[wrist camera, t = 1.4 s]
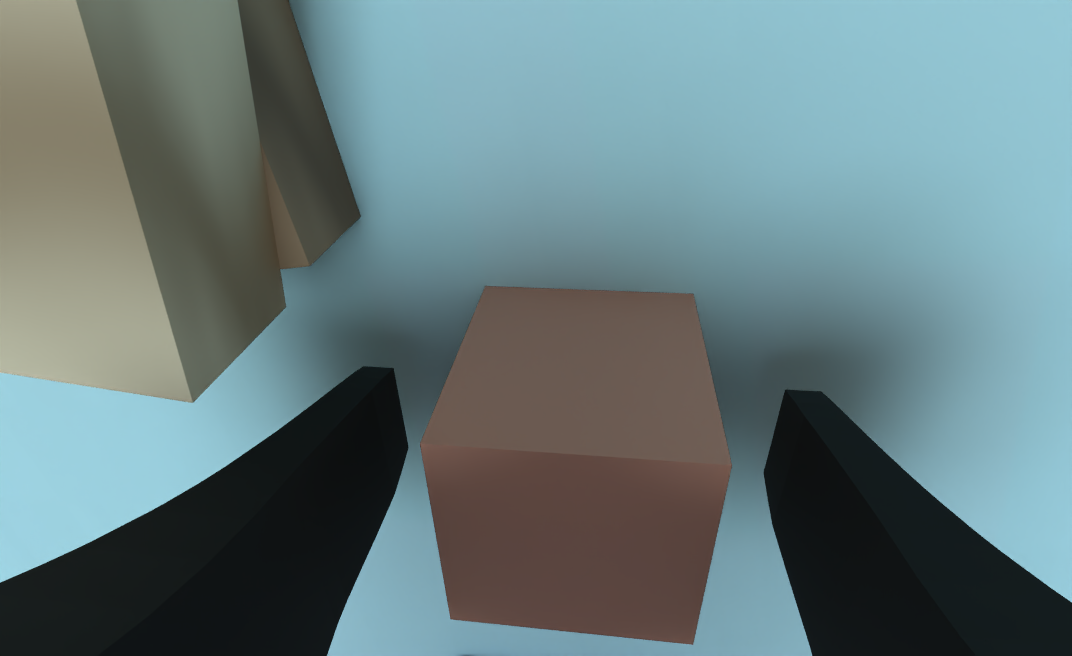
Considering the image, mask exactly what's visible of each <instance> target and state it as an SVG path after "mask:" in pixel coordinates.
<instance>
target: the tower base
mask: <svg viewBox="0 0 1072 656" xmlns="http://www.w3.org/2000/svg"><path fill="white" fill-rule="evenodd" d="M237 1H238V7H239V14H240V20H241V26H242V32H243V39H244V45H245V51H246V58H247V64H248V70H249V76H250V83H251V89H252V95H253V102H254V108H255V114H256V121H257V127H258V133H259V139H260V146H261V152H262V159H263V165H264V171H265V178H266V184H267V190H268V197H269V203H270V209H271V215H272V222H273V228H274V234H275V241H276V247H277V253H278V260H279V266H280V269H288V268H297V267H306V266H311V265H312V264H313V263H314V262H315V261H316V260H317V259H318V258H319V257H320V256H321V255H322V254H323V253H324V252H325V251H326V250H327V249H328V248H329V247H330V246H331V245H332V244H333V243H334V242H335V241H336V240H337V239H338V238H339V237H340V236H341V235H342V234H343V233H345V232H346V231H347V230H348V229H349V228H350V227H351V226H352V225H353V224H354V223H355V222H356V221H357V220H358V219H359V218H360V217H361V215H360V212H359V209H358V207H357V204H356V201H355V198H354V195H353V192H352V189H351V186H350V183H349V180H348V177H347V174H346V171H345V168H344V165H343V162H342V159H341V156H340V153H339V150H338V147H337V144H336V141H335V138H334V135H333V132H332V129H331V126H330V123H329V120H328V117H327V114H326V111H325V108H324V105H323V102H322V99H321V96H320V93H319V91H318V88H317V85H316V82H315V79H314V76H313V73H312V70H311V67H310V64H309V61H308V58H307V55H306V52H305V49H304V46H303V43H302V40H301V37H300V34H299V31H298V28H297V25H296V22H295V19H294V16H293V13H292V10H291V7H290V4H289V1H288V0H237Z"/></svg>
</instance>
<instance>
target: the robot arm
mask: <svg viewBox="0 0 1072 656" xmlns="http://www.w3.org/2000/svg"><path fill="white" fill-rule="evenodd" d="M407 451H408V442H407V437H406V431H405V426H404V421H403V416H402V410H401V405H400V400H399V395H398V389H397V384H396V379H395V373H394V368H383V367H365V366H363V367H362V368H360V369H359V370H357V371H356V372H354V373H353V374H352V375H350V376H349V377H348V378H346V379H345V380H344V381H342V382H341V383H340V384H338V385H337V386H336V387H334V388H333V389H332V390H331V391H329V392H328V393H327V394H325V395H324V396H323V397H321V398H320V399H319V400H318V401H316V402H315V403H314V404H312V405H311V406H310V407H308V408H307V409H306V410H304V411H303V412H302V413H300V414H299V415H298V416H296V417H295V418H294V419H292V420H291V421H290V422H288V423H287V424H286V425H284V426H283V427H282V428H280V429H279V430H278V431H276V432H275V433H274V434H272V435H271V436H269V437H268V438H266V439H265V440H263V441H262V442H260V443H259V444H258V445H256V446H255V447H253V448H252V449H250V450H249V451H247V452H246V453H245V454H243V455H242V456H240V457H239V458H237V459H236V460H234V461H233V462H232V463H230V464H229V465H227V466H226V467H224V468H223V469H221V470H219V471H218V472H216V473H215V474H213V475H212V476H210V477H208V478H207V479H205V480H204V481H202V482H200V483H199V484H197V485H195V486H194V487H192V488H190V489H188V490H187V491H185V492H183V493H182V494H180V495H178V496H177V497H175V498H173V499H171V500H170V501H168V502H166V503H164V504H163V505H161V506H159V507H157V508H155V509H154V510H152V511H150V512H148V513H146V514H144V515H142V516H140V517H138V518H136V519H134V520H132V521H130V522H129V523H127V524H125V525H123V526H121V527H119V528H117V529H115V530H113V531H111V532H109V533H107V534H105V535H103V536H101V537H99V538H97V539H96V540H94V541H92V542H90V543H88V544H86V545H83V546H81V547H79V548H77V549H75V550H73V551H71V552H68V553H66V554H64V555H62V556H60V557H58V558H55V559H53V560H51V561H49V562H47V563H45V564H42V565H40V566H38V567H35V568H33V569H31V570H29V571H26V572H24V573H22V574H19V575H17V576H15V577H12V578H10V579H8V580H6V581H3V582H1V583H0V656H327V654H328V651H329V648H330V645H331V642H332V639H333V636H334V633H335V630H336V627H337V624H338V622H339V619H340V617H341V615H342V612H343V610H344V607H345V605H346V602H347V600H348V598H349V595H350V593H351V591H352V589H353V586H354V584H355V582H356V580H357V578H358V575H359V573H360V571H361V569H362V566H363V564H364V562H365V560H366V558H367V555H368V553H369V551H370V549H371V547H372V544H373V542H374V540H375V538H376V535H377V533H378V531H379V529H380V526H381V524H382V522H383V520H384V517H385V515H386V513H387V511H388V508H389V506H390V504H391V501H392V499H393V497H394V494H395V491H396V488H397V485H398V482H399V479H400V475H401V472H402V469H403V465H404V461H405V458H406V454H407ZM764 478H765V484H766V491H767V497H768V503H769V508H770V514H771V519H772V525H773V528H774V532H775V535H776V538H777V542H778V545H779V548H780V552H781V555H782V558H783V561H784V565H785V568H786V571H787V574H788V578H789V581H790V584H791V587H792V590H793V594H794V597H795V600H796V603H797V607H798V610H799V613H800V616H801V619H802V623H803V626H804V629H805V632H806V635H807V639H808V642H809V645H810V648H811V652H812V656H1072V602H1070V601H1069V600H1067V599H1066V598H1064V597H1063V596H1061V595H1060V594H1059V593H1057V592H1056V591H1054V590H1053V589H1051V588H1050V587H1049V586H1047V585H1046V584H1044V583H1043V582H1042V581H1040V580H1039V579H1038V578H1036V577H1035V576H1034V575H1032V574H1031V573H1030V572H1028V571H1027V570H1025V569H1024V568H1023V567H1021V566H1020V565H1019V564H1017V563H1016V562H1015V561H1013V560H1012V559H1011V558H1009V557H1008V556H1007V555H1005V554H1004V553H1002V552H1001V551H1000V550H998V549H997V548H996V547H995V546H993V545H992V544H991V543H990V542H988V541H987V540H986V539H984V538H983V537H982V536H981V535H979V534H978V533H977V532H976V531H974V530H973V529H972V528H971V527H969V526H968V525H967V524H966V523H965V522H963V521H962V520H961V519H960V518H959V517H958V516H956V515H955V514H954V513H953V512H952V511H950V510H949V509H948V508H947V507H946V506H944V505H943V504H942V503H941V502H940V501H938V500H937V499H936V498H935V497H934V496H933V495H931V494H930V493H929V492H928V491H927V490H926V489H925V488H923V487H922V486H921V485H920V484H919V483H918V482H917V481H916V480H914V479H913V478H912V477H911V476H910V475H909V474H908V473H907V472H906V471H905V470H903V469H902V468H901V467H900V466H899V465H898V464H897V463H896V462H895V461H894V460H893V459H892V458H891V457H889V456H888V455H887V454H886V453H885V452H884V451H883V450H882V449H881V448H880V447H879V446H878V445H877V444H876V443H875V442H874V441H873V440H872V439H871V438H869V437H868V436H867V435H866V434H865V433H864V432H863V431H862V430H861V429H860V428H859V427H858V426H857V425H856V424H855V423H854V422H853V421H852V420H851V419H850V418H849V417H848V416H847V415H846V414H845V413H844V412H843V411H842V410H841V409H840V408H838V407H837V406H836V405H835V404H834V403H833V402H832V401H831V400H830V399H829V398H828V397H827V396H826V395H825V394H823V393H822V392H818V391H800V390H785V393H784V396H783V400H782V404H781V408H780V412H779V416H778V419H777V423H776V427H775V431H774V435H773V439H772V442H771V446H770V450H769V454H768V458H767V462H766V465H765V469H764Z"/></svg>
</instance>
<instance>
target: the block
mask: <svg viewBox="0 0 1072 656" xmlns="http://www.w3.org/2000/svg"><path fill="white" fill-rule="evenodd" d="M420 447H421V453H422V458H423V464H424V470H425V476H426V481H427V487H428V493H429V498H430V504H431V510H432V516H433V521H434V527H435V533H436V539H437V544H438V550H439V556H440V561H441V567H442V573H443V579H444V584H445V590H446V596H447V602H448V607H449V613H450V619H453V620H463V621H472V622H482V623H491V624H501V625H511V626H520V627H530V628H539V629H549V630H558V631H568V632H578V633H587V634H597V635H606V636H616V637H625V638H635V639H645V640H654V641H664V642H673V643H683V644H692V645H693V642H694V638H695V633H696V629H697V624H698V619H699V615H700V610H701V606H702V601H703V596H704V592H705V587H706V583H707V578H708V573H709V569H710V564H711V560H712V555H713V550H714V546H715V541H716V537H717V532H718V527H719V523H720V518H721V514H722V509H723V504H724V500H725V495H726V491H727V486H728V481H729V477H730V472H731V468H732V463H731V459H730V454H729V450H728V445H727V441H726V437H725V432H724V428H723V423H722V419H721V414H720V410H719V406H718V401H717V397H716V392H715V388H714V383H713V379H712V374H711V370H710V366H709V361H708V357H707V352H706V348H705V343H704V339H703V335H702V330H701V326H700V321H699V317H698V312H697V308H696V304H695V299H694V295H693V294H685V293H658V292H631V291H604V290H577V289H550V288H523V287H496V286H485V288H484V290H483V293H482V295H481V297H480V300H479V302H478V305H477V307H476V310H475V312H474V314H473V317H472V319H471V322H470V324H469V326H468V329H467V331H466V334H465V336H464V338H463V341H462V343H461V346H460V348H459V351H458V353H457V355H456V358H455V360H454V363H453V365H452V367H451V370H450V372H449V375H448V377H447V379H446V382H445V384H444V387H443V389H442V392H441V394H440V396H439V399H438V401H437V404H436V406H435V408H434V411H433V413H432V416H431V418H430V420H429V423H428V425H427V428H426V430H425V433H424V435H423V437H422V440H421V442H420Z"/></svg>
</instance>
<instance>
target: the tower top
mask: <svg viewBox="0 0 1072 656" xmlns="http://www.w3.org/2000/svg"><path fill="white" fill-rule="evenodd" d="M285 308H286V303H285V297H284V290H283V284H282V278H281V272H280V266H279V260H278V253H277V247H276V241H275V234H274V228H273V222H272V215H271V209H270V203H269V197H268V190H267V184H266V178H265V171H264V165H263V159H262V152H261V146H260V139H259V133H258V127H257V121H256V114H255V108H254V102H253V95H252V89H251V83H250V76H249V70H248V64H247V58H246V51H245V45H244V39H243V32H242V26H241V20H240V14H239V7H238V1H237V0H0V372H1V373H7V374H13V375H20V376H26V377H32V378H39V379H45V380H51V381H58V382H64V383H70V384H77V385H83V386H89V387H96V388H102V389H108V390H115V391H121V392H127V393H134V394H140V395H146V396H153V397H159V398H165V399H172V400H178V401H184V402H191V403H193V402H194V401H195V400H196V399H197V398H198V397H199V396H200V395H201V394H202V393H203V392H204V391H205V390H206V389H207V388H208V387H209V386H210V385H211V384H212V383H213V382H214V381H215V380H216V379H217V378H218V376H219V375H220V374H221V373H222V372H223V371H224V370H225V369H226V368H227V367H228V366H229V365H230V364H231V363H232V362H233V361H234V360H235V359H236V358H237V357H238V356H239V355H240V354H241V353H242V352H243V351H244V350H245V349H246V348H247V347H248V346H249V345H250V344H251V343H252V341H253V340H254V339H255V338H256V337H257V336H258V335H259V334H260V333H261V332H262V331H263V330H264V329H265V328H266V327H267V326H268V325H269V324H270V323H271V322H272V321H273V320H274V319H275V318H276V317H277V316H278V315H279V314H280V313H281V312H282V311H283V310H284V309H285Z"/></svg>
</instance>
